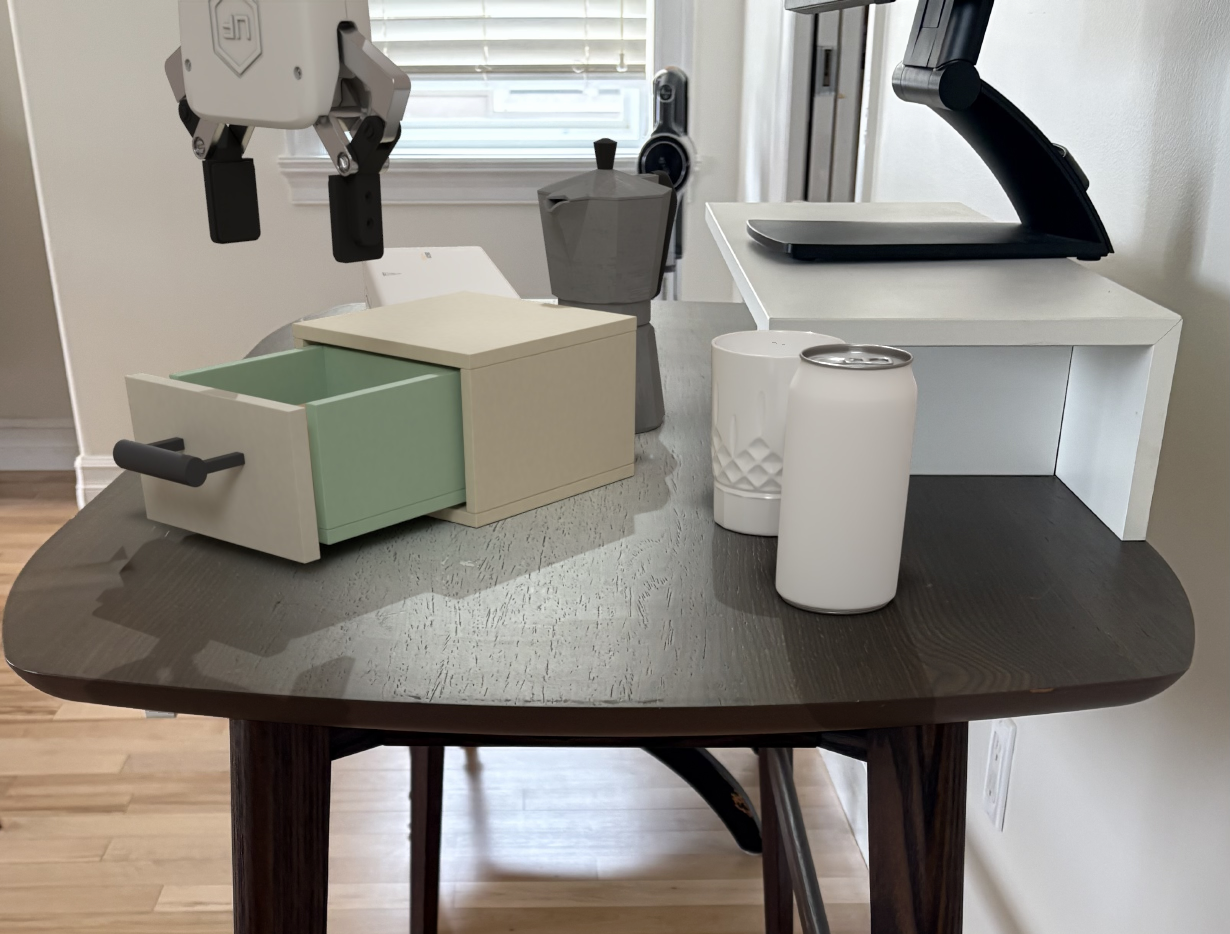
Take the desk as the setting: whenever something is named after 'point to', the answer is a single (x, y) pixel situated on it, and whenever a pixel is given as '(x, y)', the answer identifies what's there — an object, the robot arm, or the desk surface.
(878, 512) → the can
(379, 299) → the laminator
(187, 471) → the drawer
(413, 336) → the cabinet
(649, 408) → the coffeepot
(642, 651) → the desk surface
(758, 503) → the white cup
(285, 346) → the desk surface
